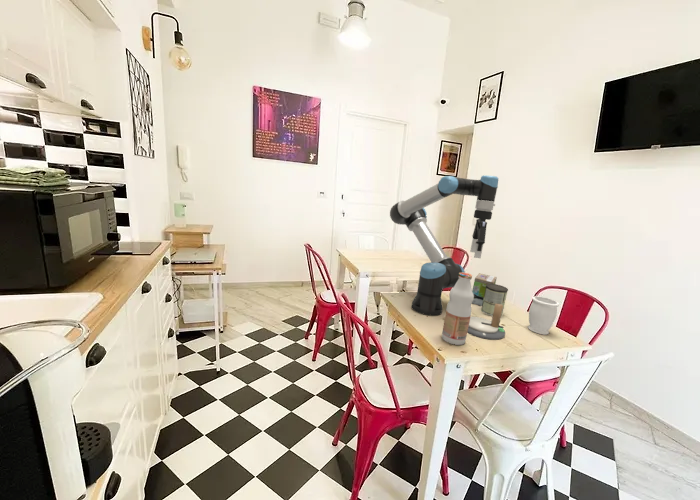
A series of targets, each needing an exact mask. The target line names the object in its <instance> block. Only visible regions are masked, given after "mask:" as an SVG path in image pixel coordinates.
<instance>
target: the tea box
mask: <svg viewBox="0 0 700 500" xmlns="http://www.w3.org/2000/svg"><path fill="white" fill-rule="evenodd" d="M496 283H497V276H493V275H488V274H486V273H478V274H477V275H476V277H475V278H474V280H473V285H472V292H473V294H474V299H473V302H472V305H473V304H474V305H477V306H481V307H482V304H483V299H484V294H485V289H486V284H496Z"/></svg>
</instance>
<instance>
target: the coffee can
mask: <svg viewBox="0 0 700 500" xmlns="http://www.w3.org/2000/svg"><path fill="white" fill-rule="evenodd" d="M508 291H509V288H508V287H506V286H503V285H500V284H498V283H497V284H496V283H495V284H486V289H485V294H484V299H483V304H482V306H481V310H480V311H481V312H482V313H483V314H485V315H487V316H491V317H493V312H494V308H495V304H496V303H497V304H501V305H503V309H502V314H501V317H503V315H504V309H505V304H506V299H507V296H508Z"/></svg>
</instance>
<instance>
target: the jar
mask: <svg viewBox="0 0 700 500" xmlns="http://www.w3.org/2000/svg"><path fill="white" fill-rule="evenodd" d="M559 305H560V303H559V302H558V301H556V300H554V299H551V298H548V297H543V296H538V295H536V296H532V302H531V304H530V307H529V311H528V322H529V323H528V324H529V325H528V326H527V328H528V329H529V330H530V331H531V332H533V333H536V334H540V335H544V336H546V335H549V334H550V331H549V330H550V329H551V328H552V326H553V325H554V322H555V320H556V319H557V318H556V317H557V315H558V314H557V313H558V307H559Z"/></svg>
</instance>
